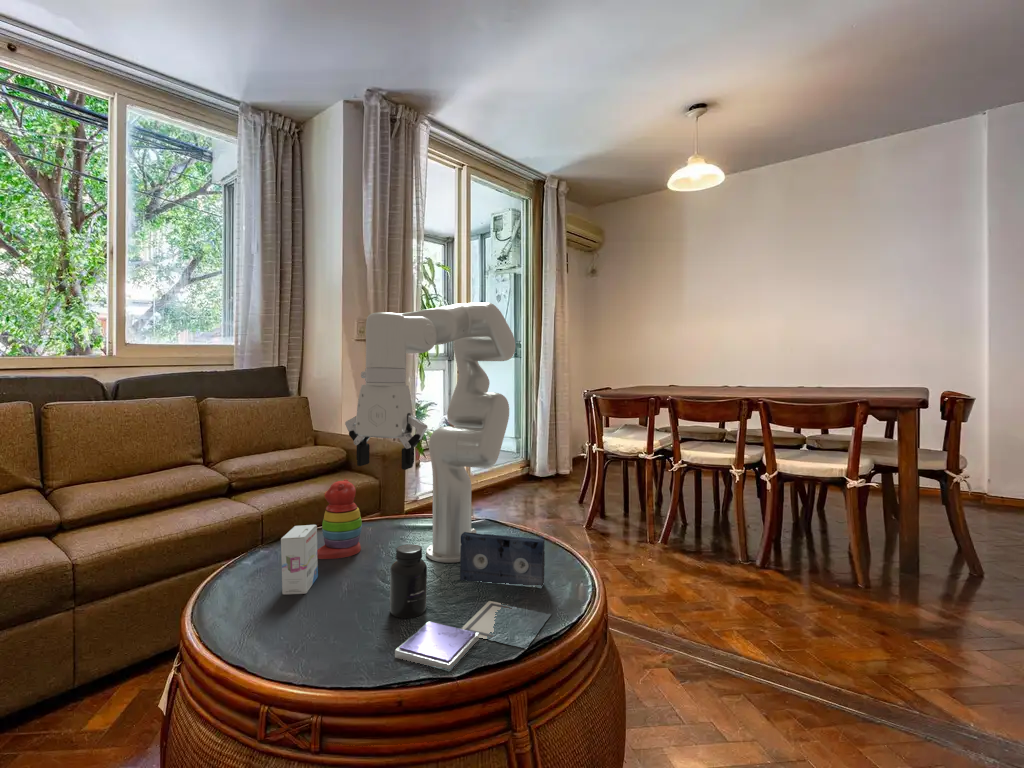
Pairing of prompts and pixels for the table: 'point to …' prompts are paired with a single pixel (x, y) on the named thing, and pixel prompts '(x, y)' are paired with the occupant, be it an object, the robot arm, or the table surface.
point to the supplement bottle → (408, 582)
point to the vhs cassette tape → (502, 559)
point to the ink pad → (437, 645)
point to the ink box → (299, 559)
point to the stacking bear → (340, 522)
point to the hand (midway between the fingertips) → (384, 466)
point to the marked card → (484, 620)
